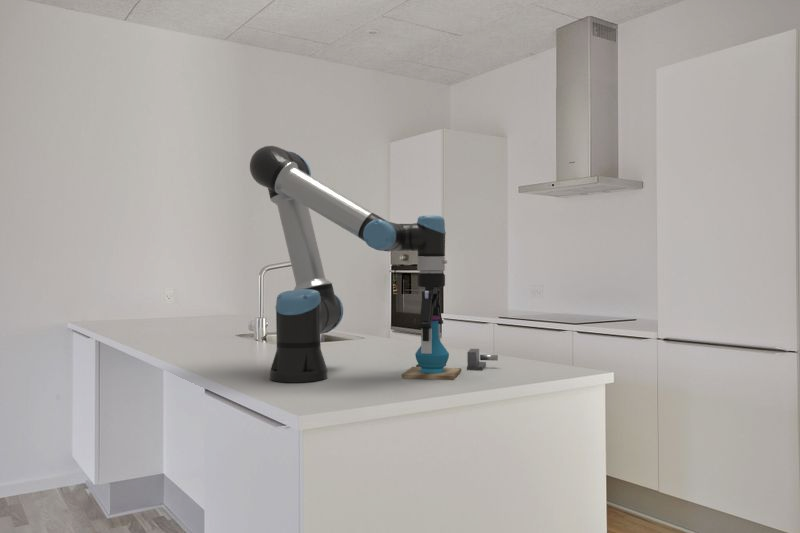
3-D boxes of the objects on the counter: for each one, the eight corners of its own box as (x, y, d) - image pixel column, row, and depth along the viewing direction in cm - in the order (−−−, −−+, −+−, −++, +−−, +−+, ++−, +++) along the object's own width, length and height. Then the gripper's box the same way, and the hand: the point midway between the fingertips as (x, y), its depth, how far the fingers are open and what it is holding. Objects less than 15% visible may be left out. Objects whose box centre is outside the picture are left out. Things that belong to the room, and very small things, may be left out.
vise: (416, 368, 194) (415, 351, 194) (422, 363, 204) (422, 347, 204) (496, 370, 189) (496, 353, 189) (499, 365, 199) (499, 348, 199)
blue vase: (427, 367, 189) (426, 314, 189) (455, 370, 184) (454, 315, 184) (408, 371, 182) (408, 316, 182) (437, 374, 176) (436, 317, 176)
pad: (401, 378, 178) (401, 374, 178) (412, 370, 191) (412, 366, 191) (453, 379, 174) (453, 376, 174) (461, 371, 188) (461, 367, 188)
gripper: (436, 273, 170) (436, 356, 170) (451, 272, 194) (451, 345, 194) (408, 272, 172) (407, 355, 172) (426, 271, 196) (426, 344, 196)
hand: (431, 350), depth 183 cm, fingers open, 13 cm apart
